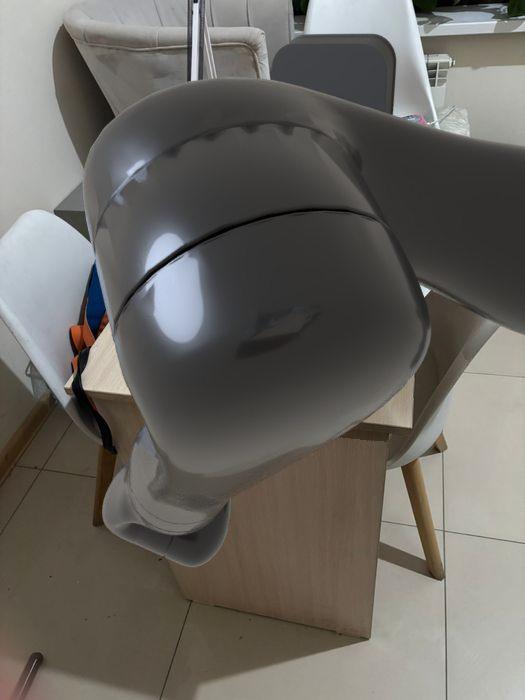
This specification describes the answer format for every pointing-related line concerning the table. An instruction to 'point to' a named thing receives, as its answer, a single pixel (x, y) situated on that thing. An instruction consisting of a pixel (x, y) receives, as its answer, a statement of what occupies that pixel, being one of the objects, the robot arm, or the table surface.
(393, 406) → the table surface
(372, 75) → the speaker
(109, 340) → the table surface
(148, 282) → the robot arm
